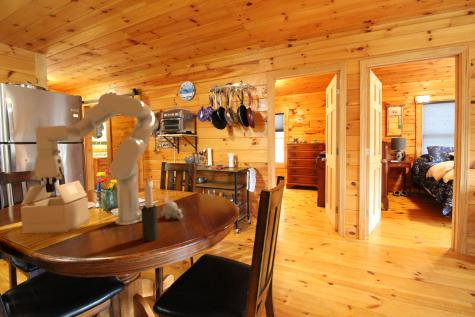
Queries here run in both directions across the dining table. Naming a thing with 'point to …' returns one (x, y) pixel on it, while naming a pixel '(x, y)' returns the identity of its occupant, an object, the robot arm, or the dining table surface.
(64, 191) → the flap
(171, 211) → the chubby cartoon animal
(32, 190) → the flap
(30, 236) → the dining table surface
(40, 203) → the carton
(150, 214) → the candle
